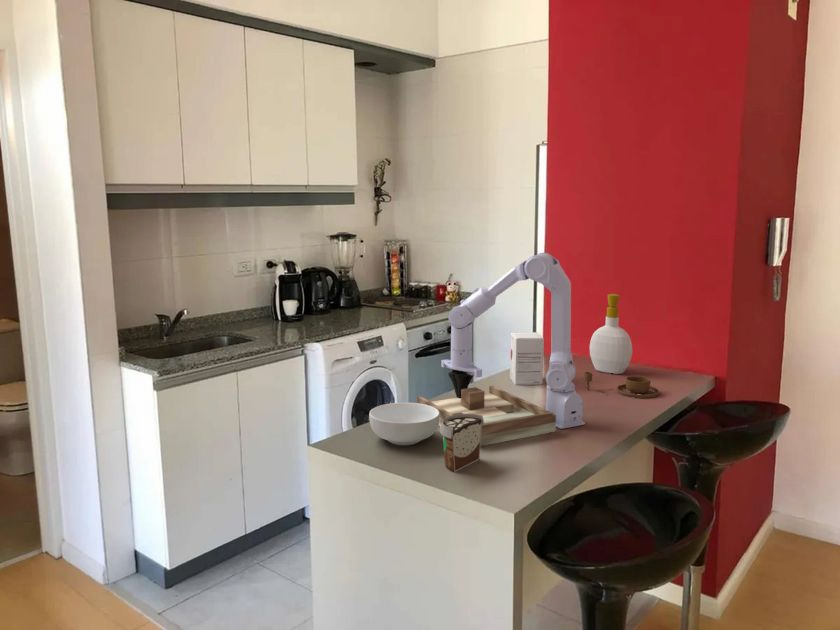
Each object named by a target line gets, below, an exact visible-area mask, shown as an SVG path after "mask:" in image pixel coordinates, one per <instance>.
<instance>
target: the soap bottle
mask: <svg viewBox="0 0 840 630" xmlns="http://www.w3.org/2000/svg"><path fill="white" fill-rule="evenodd" d="M619 298H620V294H616V293H610V294H607V303H608V306H607V307H606V316H605V325H603V326H601V327H599V328H598V329H596V330H595V331H594V332H593V333H592V336H591V339H590V341H589V342H590V343H589V356H590V359H591V363H592V365H593V366H594V369H595V370H596V371H598V372H600V373H604V374H611V373H613V374H612V375H620V374H624V373H625V371H626V370H627V368H628V367H629V365H630V362H631V360H632V356H633V343H632V340H631V337H630V335H629V334H628V332H627V331H626V330H625V329H624V328H621V327H620V326H619V320H620V319H619V318H620V317H619V307H617V306H618V303H619Z"/></svg>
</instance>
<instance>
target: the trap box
mask: <svg viewBox="0 0 840 630" xmlns="http://www.w3.org/2000/svg"><path fill="white" fill-rule="evenodd" d="M416 401H417V402H416V403H419V404H425V405H429V406H432V407H434V408H436V409H437V410H438V411H439V414H440V418H439V424H438V427H439V426H441V423H442V421H443V419H444V418H446V417H448V416H451V415H456V414H477V415H482V416H483V420H484V424H482V434H481V446H480V447H483V446H487V445H492V444H493V445H494V444H498V443H503V442H508V441H513V440H519V439H523V438H529V437H530V438H531V437H535V436H540V434H541V435H545V434H549V433H550V432H551V433H555V432H556V427H555V426H556V414H554V413H552V412H549V411H547V410H546V408H543V407H541V406H538V405H537V404H534V403H531V402H529V401H528V400H525V399H523V398H520V397H518V396H517V395H514V394H512V393H509V392H507V391H505V390H503V389H501V388H498V387H496V386H494V385H489V387H488V392H485V396H484V408H481V409H474V410H468V409H466V408H465V407H463V406H461V398H457V397H454V398H447V399H446V398H445V399H441V400H440V399H438V400H433V401H430V400H428V399H427V398H425V397H423V396H421V395H419V396H417V398H416Z"/></svg>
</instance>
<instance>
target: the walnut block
mask: <svg viewBox="0 0 840 630" xmlns="http://www.w3.org/2000/svg"><path fill="white" fill-rule="evenodd" d="M485 393H486V392H485V391H484V390H482V389H480V388H478V387H468V388H467V389H461V406H463V407H465V408H466V409H468V410H474V409H481V408H484V396H485Z"/></svg>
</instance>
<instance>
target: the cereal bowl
mask: <svg viewBox="0 0 840 630" xmlns="http://www.w3.org/2000/svg"><path fill="white" fill-rule="evenodd" d="M368 415H369V416H368V417H369V418H368V419H369V425H370V428H371V430H372V431H373V432H374V434H375V435H376V436H378V437H379V438H381V439H383V440H386V441H388V443H391V444H392V445H395V446H396V445H397V446H412V445H416V444H418V443H420V442H421V441H424V440H425V439H427V438H430V437H431V436H432V435H433V434H435V432H436V431H437V429H438V427H439V426H438V424H439V418H440V414H439V411H438V410H437V409H436V408H434V407H432V406H429V405H425V404H419V403H417V402H393V403H386V404H381V405H378V406H375V407H374V408H371V410H369V414H368Z"/></svg>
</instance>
